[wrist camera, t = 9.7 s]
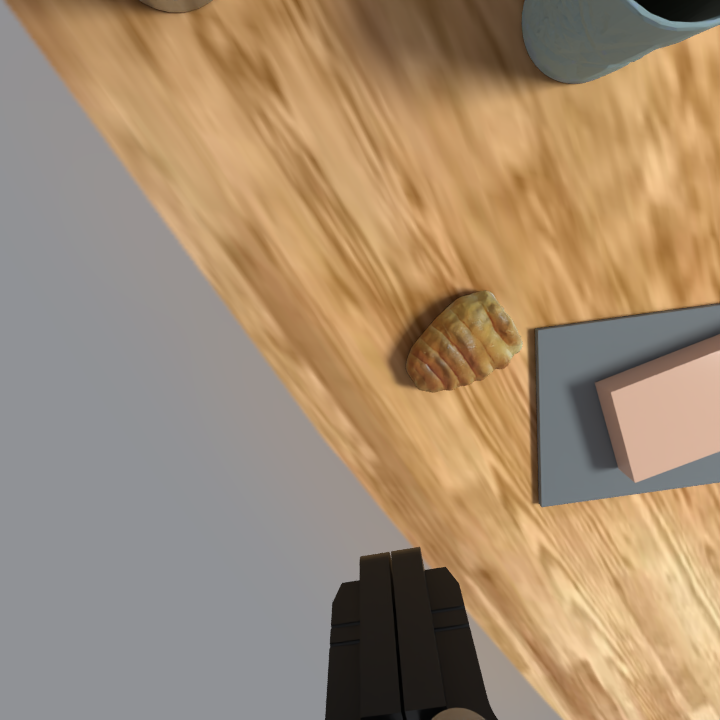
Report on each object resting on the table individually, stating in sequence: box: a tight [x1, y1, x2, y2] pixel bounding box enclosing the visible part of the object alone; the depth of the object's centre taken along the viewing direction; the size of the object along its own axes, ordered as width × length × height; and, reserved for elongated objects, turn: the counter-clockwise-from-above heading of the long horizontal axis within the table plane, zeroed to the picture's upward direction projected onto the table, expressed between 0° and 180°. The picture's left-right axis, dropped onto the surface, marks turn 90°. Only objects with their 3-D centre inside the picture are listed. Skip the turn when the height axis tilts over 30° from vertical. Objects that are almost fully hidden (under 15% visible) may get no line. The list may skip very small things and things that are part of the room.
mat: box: [535, 303, 720, 507], centre depth 40 cm, size 17×21×1 cm
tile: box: [595, 334, 720, 483], centre depth 38 cm, size 3×9×14 cm
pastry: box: [406, 291, 523, 392], centre depth 36 cm, size 9×7×4 cm
